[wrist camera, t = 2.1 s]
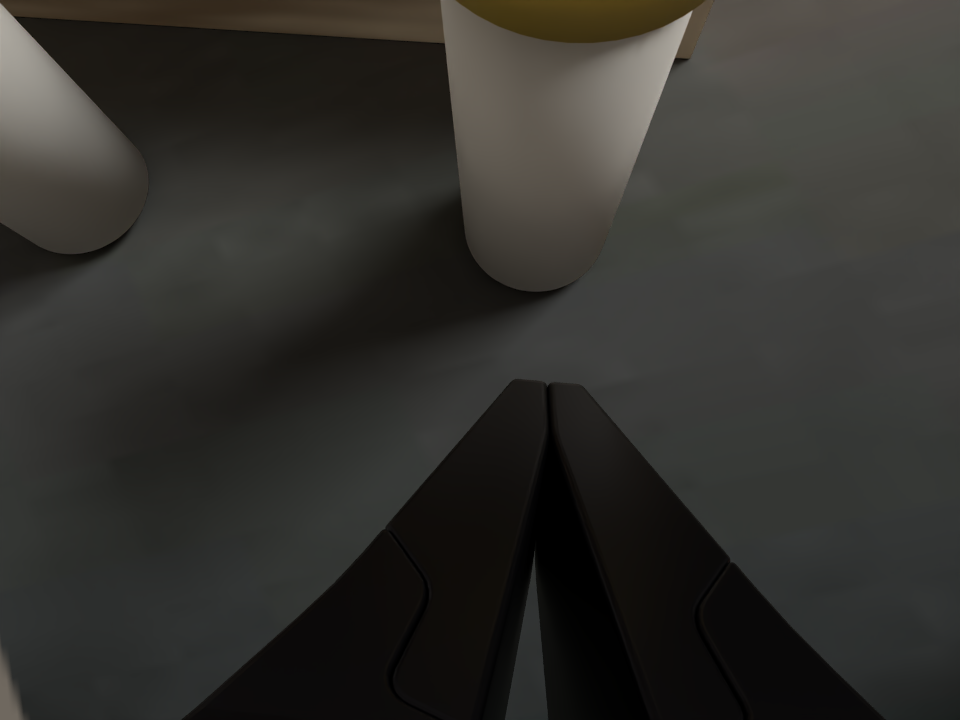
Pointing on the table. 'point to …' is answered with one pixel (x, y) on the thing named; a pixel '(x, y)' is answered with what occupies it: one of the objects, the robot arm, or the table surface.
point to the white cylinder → (552, 123)
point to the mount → (286, 16)
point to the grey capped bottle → (60, 154)
